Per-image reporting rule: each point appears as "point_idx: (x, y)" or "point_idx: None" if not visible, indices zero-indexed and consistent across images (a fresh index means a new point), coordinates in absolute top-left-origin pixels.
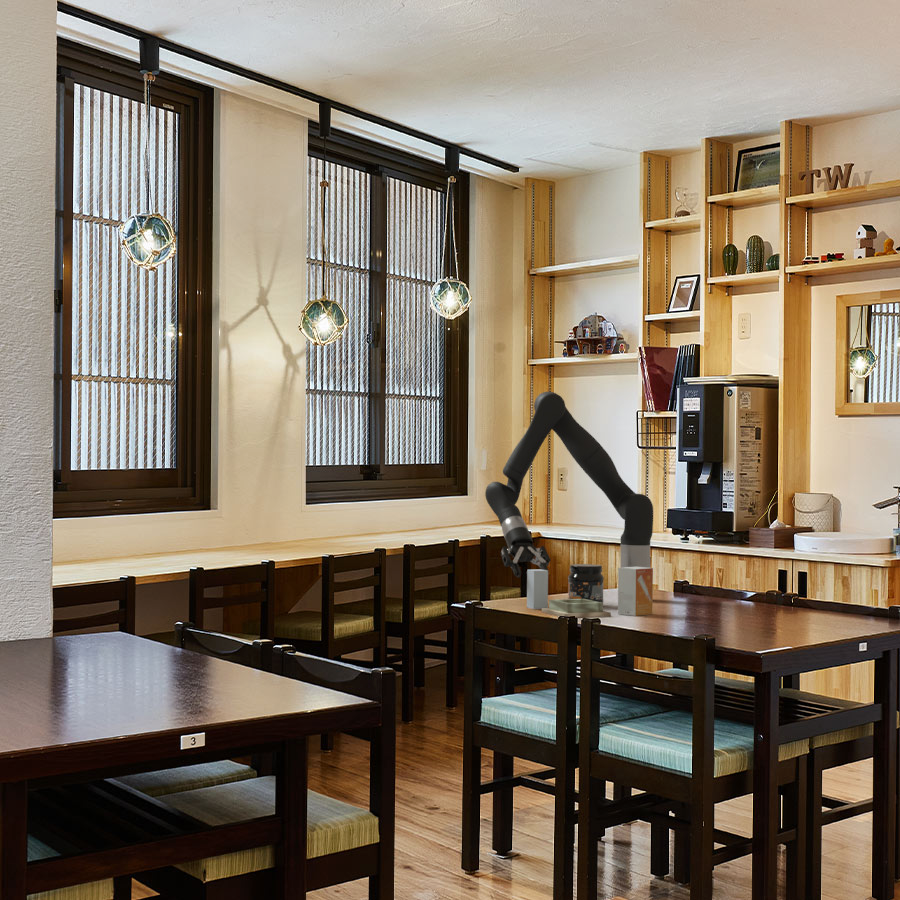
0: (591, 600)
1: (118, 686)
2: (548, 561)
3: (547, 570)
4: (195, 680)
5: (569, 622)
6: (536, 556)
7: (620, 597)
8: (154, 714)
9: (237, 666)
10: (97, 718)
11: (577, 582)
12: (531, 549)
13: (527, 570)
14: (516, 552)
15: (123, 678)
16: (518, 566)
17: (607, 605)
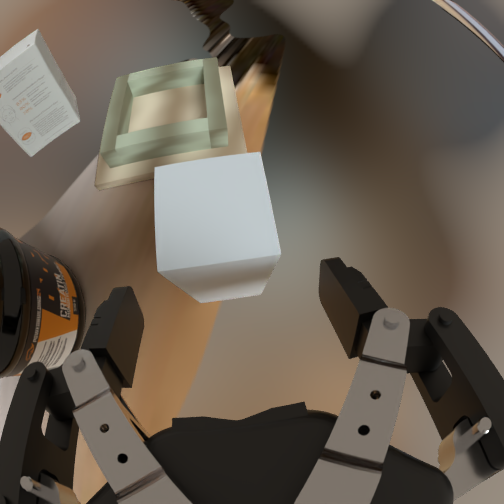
0: (108, 114)
1: (486, 33)
2: (44, 368)
3: (155, 172)
4: (472, 25)
5: (247, 38)
6: (119, 406)
7: (65, 91)
8: (452, 5)
9: (477, 34)
10: (461, 10)
11: (27, 258)
12: (146, 496)
13: (279, 251)
14: (389, 453)
15: (494, 42)
16: (349, 292)
17: None
